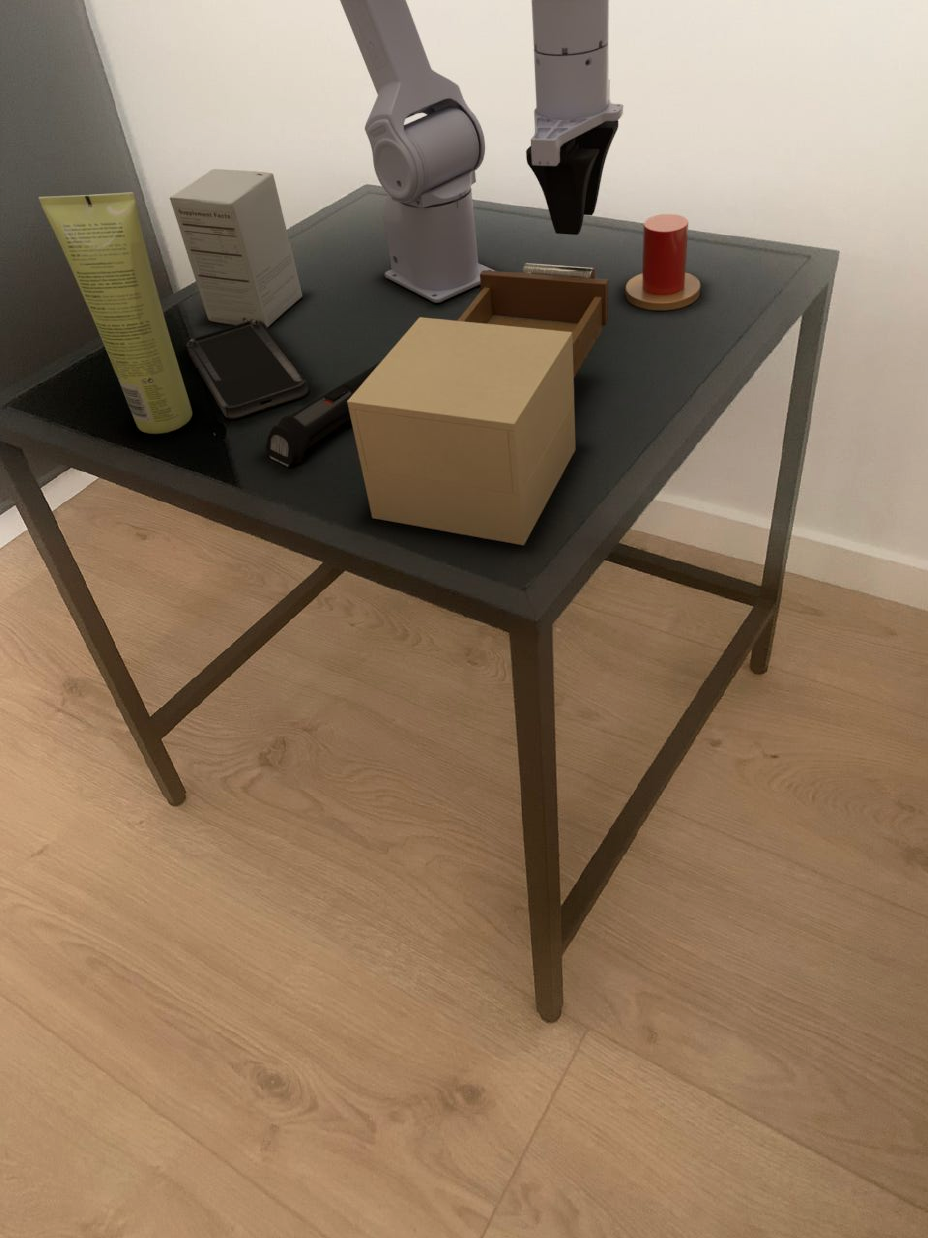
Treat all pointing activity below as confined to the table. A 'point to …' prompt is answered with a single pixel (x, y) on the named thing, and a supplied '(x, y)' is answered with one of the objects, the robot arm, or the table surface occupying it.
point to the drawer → (545, 302)
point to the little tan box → (467, 427)
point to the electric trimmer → (312, 422)
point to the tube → (123, 302)
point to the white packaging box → (238, 246)
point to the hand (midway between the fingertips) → (575, 222)
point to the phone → (246, 369)
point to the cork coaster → (662, 302)
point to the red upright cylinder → (664, 254)
